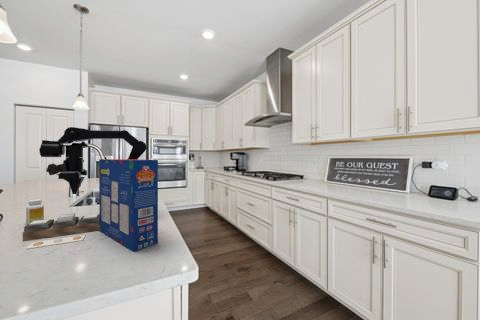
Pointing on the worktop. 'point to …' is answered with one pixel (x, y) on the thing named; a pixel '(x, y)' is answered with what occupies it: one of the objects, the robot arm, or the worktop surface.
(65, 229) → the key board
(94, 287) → the worktop surface
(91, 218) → the key
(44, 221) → the key
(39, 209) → the supplement bottle
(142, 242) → the blue cardboard box
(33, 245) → the pattern card
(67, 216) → the key middle
